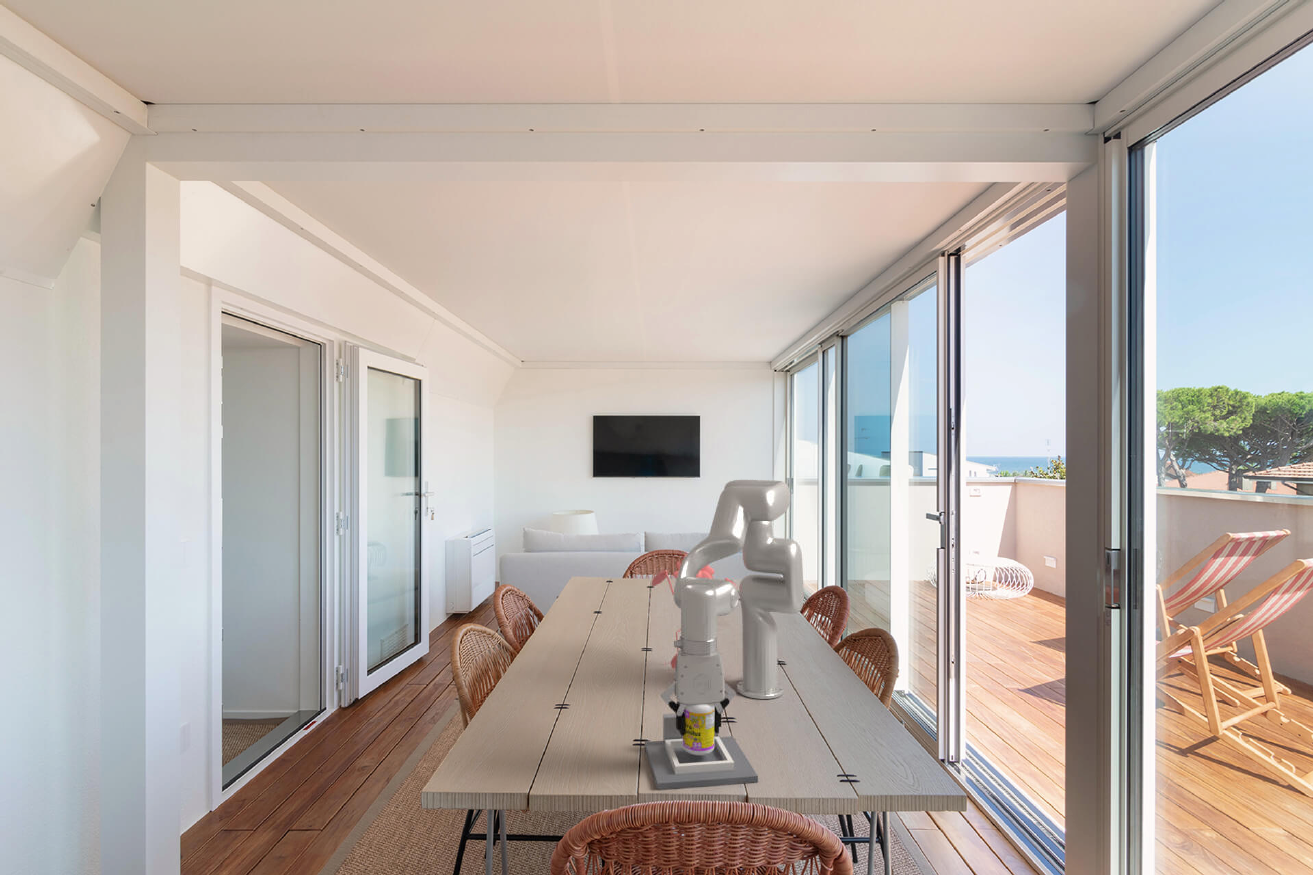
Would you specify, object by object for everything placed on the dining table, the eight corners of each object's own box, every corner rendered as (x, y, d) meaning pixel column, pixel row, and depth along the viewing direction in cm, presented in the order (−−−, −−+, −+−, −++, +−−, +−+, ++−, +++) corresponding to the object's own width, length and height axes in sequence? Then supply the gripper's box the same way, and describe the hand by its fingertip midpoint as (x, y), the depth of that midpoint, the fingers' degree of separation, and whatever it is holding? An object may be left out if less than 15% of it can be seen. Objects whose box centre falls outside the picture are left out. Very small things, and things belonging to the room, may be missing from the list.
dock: (644, 747, 138) (645, 714, 138) (732, 741, 141) (732, 709, 141) (657, 789, 120) (657, 751, 120) (757, 782, 123) (757, 744, 123)
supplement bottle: (676, 748, 131) (676, 686, 131) (697, 738, 135) (697, 678, 136) (700, 759, 126) (700, 695, 126) (721, 749, 131) (721, 687, 131)
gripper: (661, 652, 126) (660, 742, 126) (743, 648, 129) (743, 736, 128) (655, 641, 134) (655, 726, 133) (733, 638, 136) (733, 721, 136)
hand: (698, 730), depth 131 cm, fingers closed on supplement bottle, 6 cm apart
